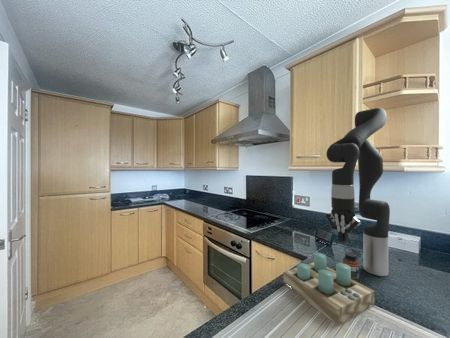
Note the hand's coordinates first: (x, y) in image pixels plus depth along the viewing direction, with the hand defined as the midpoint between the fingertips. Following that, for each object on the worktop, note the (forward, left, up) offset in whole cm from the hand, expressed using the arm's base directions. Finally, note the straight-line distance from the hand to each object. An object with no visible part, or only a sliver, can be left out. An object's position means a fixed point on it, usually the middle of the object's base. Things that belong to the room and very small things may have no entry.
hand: (342, 241), depth 73 cm
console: (+5, -4, -21) cm, 22 cm away
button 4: (0, 0, -15) cm, 15 cm away
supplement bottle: (-13, -5, -21) cm, 25 cm away
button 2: (0, -10, -15) cm, 18 cm away
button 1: (+10, -10, -18) cm, 23 cm away
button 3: (+10, 0, -15) cm, 18 cm away
